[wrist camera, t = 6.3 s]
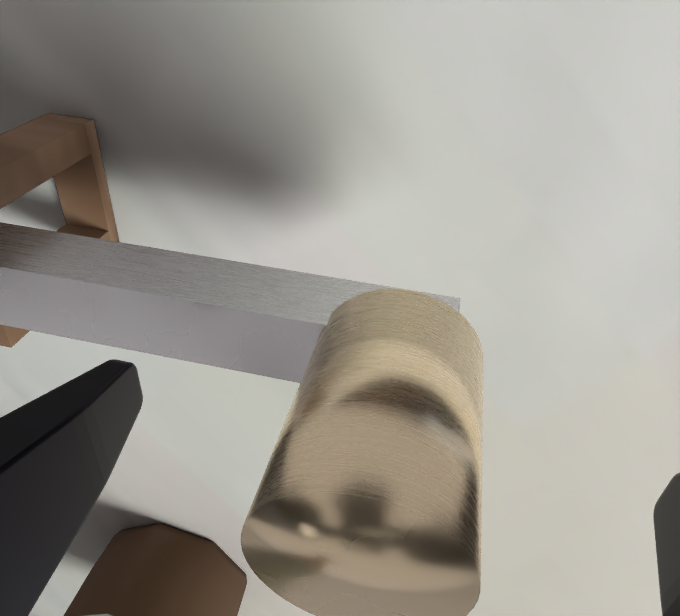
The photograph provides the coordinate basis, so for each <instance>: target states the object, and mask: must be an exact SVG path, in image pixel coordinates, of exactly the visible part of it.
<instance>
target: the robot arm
mask: <svg viewBox="0 0 680 616" xmlns="http://www.w3.org/2000/svg"><path fill="white" fill-rule="evenodd" d="M142 401H143V395H142V390H141V386H140V381H139V377H138V372H137V368H136V366H135V365H134V364H133V363H130V362H125V361H120V360H109V361H107V362H105V363H103V364H101V365H99V366H97V367H95V368H93V369H91V370H90V371H88V372H86V373H84V374H82V375H80V376H78V377H76V378H74V379H73V380H71V381H69V382H67V383H65V384H63V385H61V386H59V387H57V388H56V389H54V390H52V391H50V392H48V393H46V394H44V395H42V396H40V397H39V398H37V399H35V400H33V401H31V402H29V403H27V404H25V405H24V406H22V407H20V408H18V409H16V410H14V411H12V412H10V413H8V414H7V415H5V416H3V417H1V418H0V616H28V615H29V613H30V612H31V610H32V608H33V606H34V605H35V603H36V601H37V600H38V598H39V596H40V595H41V593H42V591H43V590H44V588H45V586H46V585H47V583H48V581H49V580H50V578H51V576H52V574H53V573H54V571H55V569H56V568H57V566H58V564H59V563H60V561H61V559H62V558H63V556H64V554H65V553H66V551H67V549H68V548H69V546H70V544H71V542H72V541H73V539H74V537H75V536H76V534H77V532H78V531H79V529H80V527H81V526H82V524H83V522H84V521H85V519H86V517H87V516H88V514H89V512H90V510H91V509H92V507H93V505H94V504H95V502H96V500H97V499H98V497H99V495H100V493H101V492H102V490H103V488H104V486H105V485H106V483H107V481H108V479H109V477H110V475H111V473H112V470H113V468H114V466H115V464H116V462H117V459H118V457H119V455H120V453H121V451H122V449H123V446H124V444H125V442H126V440H127V438H128V435H129V433H130V431H131V429H132V427H133V424H134V422H135V420H136V418H137V416H138V414H139V411H140V409H141V406H142ZM654 529H655V540H656V552H657V563H658V575H659V586H660V598H661V606H662V615H663V616H680V473H678V474H676V475H675V476H674V477H673V478H672V480H671V481H670V483H669V484H668V486H667V487H666V489H665V490H664V492H663V493H662V495H661V496H660V498H659V499H658V501H657V503H656V505H655V508H654Z"/></svg>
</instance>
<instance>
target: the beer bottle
mask: <svg viewBox="0 0 680 616" xmlns="http://www.w3.org/2000/svg"><path fill="white" fill-rule="evenodd" d="M246 584H247V578H246V574H245V573H244V572H243V571H242V570H241V569H240V568H239V567H238V566H237V565H236V564H235V563H234V562H233V561H232V560H231V559H230V558H229V557H228V556H227V555H226V554H225V553H224V552H223V551H222V550H221V549H220V548H219V547H218V546H217V545H216V544H215V543H214V542H212V541H209V540H206V539H203V538H200V537H198V536H195V535H192V534H189V533H187V532H184V531H181V530H178V529H175V528H173V527H170V526H167V525H164V524H161V523H159V524H153V525H148V526H142V527H137V528H131V529H126V530H122V531H120V532H119V533H117V534H116V535H115V536H114V537H113V538H112V540H111V541H110V543H109V544H108V546H107V547H106V549H105V550H104V552H103V553H102V555H101V556H100V558H99V559H98V561H97V562H96V564H95V565H94V566H93V568H92V570H91V571H90V573H89V575H88V576H87V578H86V580H85V581H84V583H83V585H82V586H81V588H80V589H79V591H78V593H77V594H76V596H75V598H74V599H73V601H72V603H71V604H70V606H69V608H68V609H67V611H66V613H65V614H64V616H237V614H238V611H239V608H240V604H241V601H242V598H243V594H244V591H245V588H246Z"/></svg>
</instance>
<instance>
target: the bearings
mask: <svg viewBox="0 0 680 616" xmlns="http://www.w3.org/2000/svg"><path fill="white" fill-rule="evenodd" d="M52 177H54V180H55V184H56V188H57V191H58V195H59V199H60V203H61V206H62V210H63V214H64V218H65V221H66V225H64V226H63V227H62V228H60V229H59V230H58V231H56V232H61V233H67V234H73V235H79V236H85V237H91V238H97V239H103V240H109V241H115V242H119V238H118V233H117V229H116V224H115V219H114V214H113V210H112V205H111V200H110V195H109V190H108V186H107V181H106V176H105V171H104V167H103V162H102V157H101V152H100V147H99V143H98V138H97V133H96V128H95V124H94V120H93V119H86V118H78V117H71V116H63V115H55V114H48V113H47V114H45V115H43V116H40V117H38V118H36V119H34V120H32V121H29V122H27V123H25V124H23V125H21V126H19V127H16V128H14V129H12V130H10V131H8V132H5V133H3V134H1V135H0V209H1V208H3V207H4V206H6V205H7V204H9V203H11V202H12V201H14V200H16V199H17V198H19V197H21V196H22V195H24V194H26V193H27V192H29V191H30V190H32V189H34V188H35V187H37V186H39V185H40V184H42V183H44V182H45V181H47V180H49V179H50V178H52ZM29 331H30V330H26V329H21V328H16V327H11V326H5V325H0V345H1V346H6V347H12V346H13V345H15V344H16V343H17V342H18V341H19V340H20V339H21V338H22V337H23V336H24V335H25V334H27V333H28V332H29Z"/></svg>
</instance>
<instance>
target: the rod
mask: <svg viewBox="0 0 680 616" xmlns="http://www.w3.org/2000/svg"><path fill="white" fill-rule="evenodd" d="M459 309H460V298H454V297H448V296H442V295H436V294H430V293H423V292H417V291H411V290H405V289H399V288H393V287H387V286H381V285H375V284H369V283H363V282H357V281H351V280H345V279H339V278H333V277H327V276H321V275H315V274H309V273H303V272H297V271H291V270H284V269H278V268H272V267H266V266H260V265H254V264H248V263H242V262H236V261H230V260H224V259H218V258H212V257H206V256H200V255H194V254H188V253H182V252H176V251H170V250H164V249H158V248H152V247H145V246H139V245H133V244H127V243H121V242H115V241H109V240H103V239H97V238H91V237H85V236H79V235H73V234H67V233H61V232H55V231H49V230H43V229H37V228H31V227H25V226H19V225H13V224H6V223H0V325H5V326H11V327H16V328H21V329H26V330H31V331H36V332H41V333H46V334H52V335H57V336H62V337H67V338H72V339H77V340H82V341H88V342H93V343H98V344H103V345H108V346H113V347H118V348H123V349H129V350H134V351H139V352H144V353H149V354H154V355H159V356H164V357H170V358H175V359H180V360H185V361H190V362H195V363H200V364H206V365H211V366H216V367H221V368H226V369H231V370H236V371H241V372H247V373H252V374H257V375H262V376H267V377H272V378H277V379H282V380H288V381H293V382H298V383H300V386H299V388H298V391H297V393H296V396H295V398H294V401H293V403H292V406H291V408H290V411H289V413H288V416H287V418H286V421H285V423H284V426H283V428H282V431H281V433H280V436H279V438H278V441H277V443H276V446H275V448H274V451H273V453H272V456H271V458H270V461H269V463H268V466H267V468H266V471H265V473H264V476H263V478H262V481H261V483H260V486H259V488H258V491H257V493H256V496H255V498H254V501H253V503H252V506H251V508H250V511H249V513H248V516H247V518H246V521H245V523H244V526H243V529H242V533H241V546H242V551H243V553H244V556H245V558H246V561H247V562H248V564H249V566H250V567H251V569H252V570H253V571H254V573H255V574H256V575H257V576H258V577H259V578H260V579H261V580H262V581H263V582H264V583H265V584H266V585H267V586H268V587H269V588H270V589H271V590H273V591H274V592H275V593H276V594H278V595H279V596H281V597H282V598H284V599H285V600H287V601H288V602H290V603H292V604H293V605H295V606H297V607H299V608H301V609H303V610H305V611H307V612H309V613H311V614H313V615H316V616H466V615H467V614H468V613H469V612H470V611H471V610H472V609H473V608H474V606H475V604H476V603H477V601H478V598H479V594H480V570H481V492H482V415H483V352H482V346H481V344H480V341H479V338H478V336H477V334H476V332H475V331H474V329H473V328H472V326H471V325H470V324H469V322H468V321H467V320H466V319H465V318H464V317H463V316H462V315H461V314H460V313H459Z"/></svg>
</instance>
